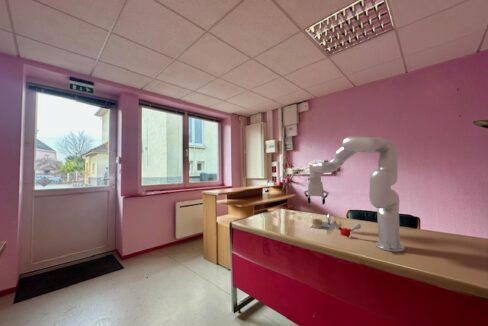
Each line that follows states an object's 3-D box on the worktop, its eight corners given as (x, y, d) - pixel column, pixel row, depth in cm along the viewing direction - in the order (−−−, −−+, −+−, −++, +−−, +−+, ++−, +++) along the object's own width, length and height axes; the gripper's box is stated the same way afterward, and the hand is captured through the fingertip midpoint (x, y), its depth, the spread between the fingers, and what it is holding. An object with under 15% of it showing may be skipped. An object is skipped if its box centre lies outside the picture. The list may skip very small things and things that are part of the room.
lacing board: (332, 232, 136) (332, 230, 136) (309, 229, 144) (309, 227, 144) (337, 225, 153) (336, 223, 153) (316, 222, 161) (316, 221, 161)
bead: (321, 228, 140) (320, 221, 141) (311, 227, 144) (311, 220, 144) (323, 226, 146) (322, 219, 146) (314, 225, 149) (313, 218, 149)
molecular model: (329, 235, 130) (329, 220, 131) (332, 233, 135) (331, 218, 135) (360, 241, 119) (359, 224, 119) (362, 238, 123) (361, 222, 124)
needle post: (330, 224, 149) (330, 213, 150) (327, 224, 151) (327, 213, 151) (331, 224, 151) (330, 213, 151) (328, 223, 152) (327, 213, 152)
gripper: (301, 180, 147) (302, 203, 147) (327, 180, 138) (328, 205, 138) (304, 179, 154) (305, 202, 153) (329, 179, 144) (330, 203, 144)
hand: (316, 203), depth 145 cm, fingers open, 9 cm apart
